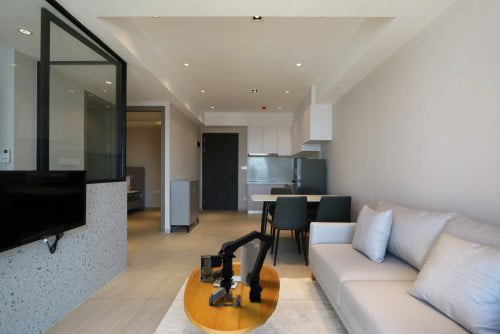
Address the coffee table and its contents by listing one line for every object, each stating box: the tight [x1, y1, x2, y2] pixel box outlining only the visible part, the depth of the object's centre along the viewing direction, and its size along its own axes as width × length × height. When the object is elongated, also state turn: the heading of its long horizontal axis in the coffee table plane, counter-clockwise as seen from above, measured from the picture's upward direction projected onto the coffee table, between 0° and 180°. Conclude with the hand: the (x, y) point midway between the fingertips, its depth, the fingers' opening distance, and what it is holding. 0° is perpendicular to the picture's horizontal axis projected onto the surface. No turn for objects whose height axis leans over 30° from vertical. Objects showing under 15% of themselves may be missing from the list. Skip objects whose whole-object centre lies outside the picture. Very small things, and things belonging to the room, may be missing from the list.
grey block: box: [212, 287, 225, 303], centre depth 163 cm, size 12×2×5 cm, turn 153°
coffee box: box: [199, 254, 215, 283], centre depth 191 cm, size 9×6×16 cm
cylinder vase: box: [240, 242, 260, 287], centre depth 188 cm, size 12×12×25 cm
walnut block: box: [223, 289, 234, 302], centre depth 163 cm, size 4×4×4 cm
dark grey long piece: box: [208, 293, 242, 309], centre depth 155 cm, size 18×4×6 cm, turn 88°
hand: (227, 293), depth 156 cm, fingers closed
